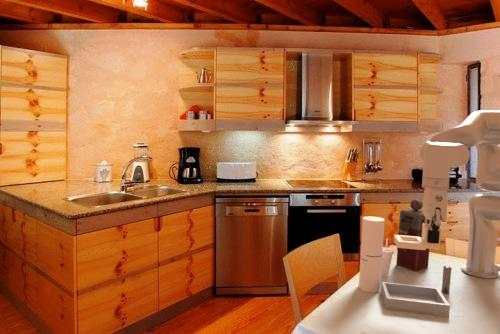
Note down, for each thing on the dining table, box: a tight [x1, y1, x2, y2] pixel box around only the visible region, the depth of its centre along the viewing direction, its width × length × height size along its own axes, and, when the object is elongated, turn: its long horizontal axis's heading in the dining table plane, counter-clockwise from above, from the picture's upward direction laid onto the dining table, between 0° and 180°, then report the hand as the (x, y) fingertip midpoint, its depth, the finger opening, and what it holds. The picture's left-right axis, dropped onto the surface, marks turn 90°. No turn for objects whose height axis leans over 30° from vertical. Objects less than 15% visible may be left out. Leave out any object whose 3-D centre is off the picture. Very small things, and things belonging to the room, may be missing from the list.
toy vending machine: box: [396, 198, 430, 273], centre depth 151 cm, size 9×11×28 cm
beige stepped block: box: [393, 223, 442, 251], centre depth 117 cm, size 8×12×7 cm, turn 77°
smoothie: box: [381, 238, 394, 276], centre depth 143 cm, size 6×6×14 cm
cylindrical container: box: [358, 215, 385, 293], centre depth 129 cm, size 7×7×25 cm
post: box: [441, 265, 452, 295], centre depth 128 cm, size 2×2×9 cm
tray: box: [380, 281, 451, 317], centre depth 119 cm, size 18×13×4 cm
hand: (430, 240), depth 116 cm, fingers closed on beige stepped block, 4 cm apart
